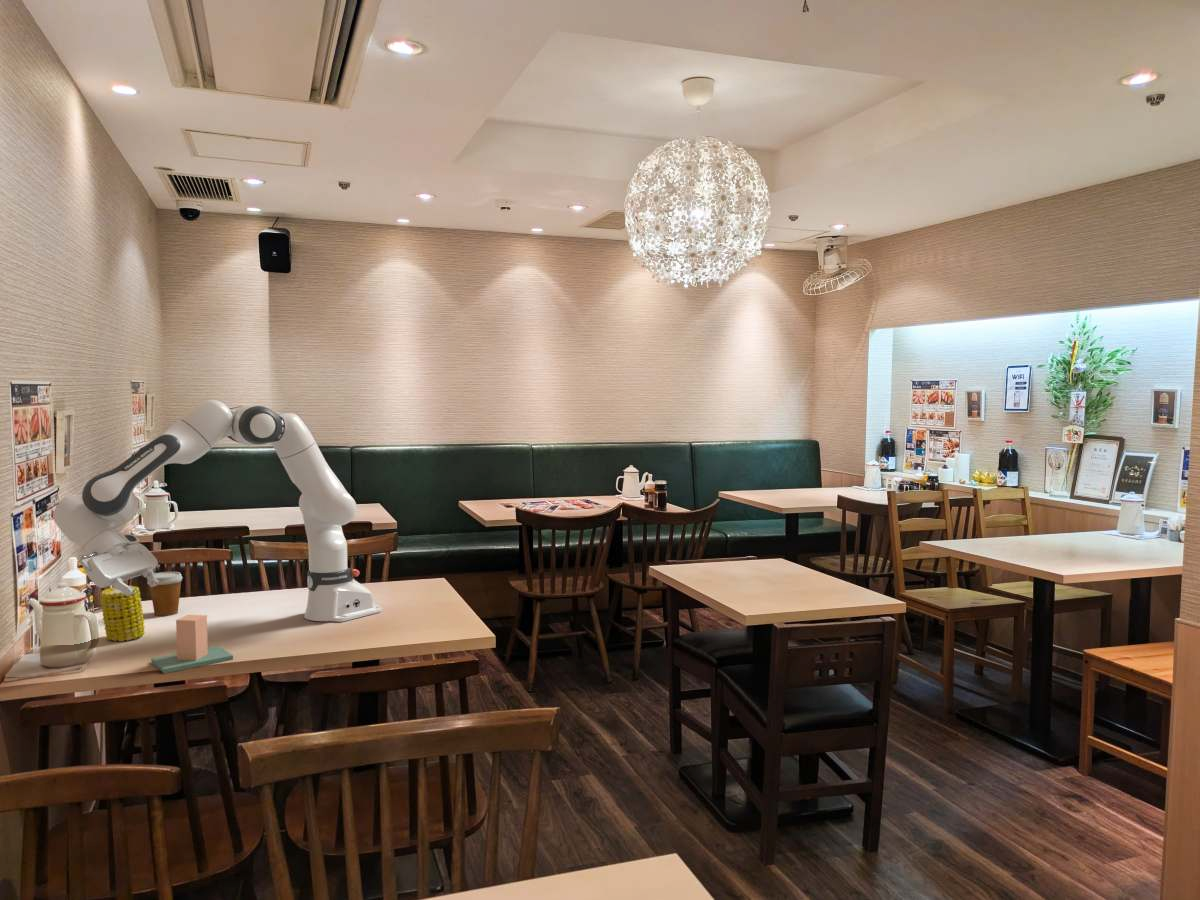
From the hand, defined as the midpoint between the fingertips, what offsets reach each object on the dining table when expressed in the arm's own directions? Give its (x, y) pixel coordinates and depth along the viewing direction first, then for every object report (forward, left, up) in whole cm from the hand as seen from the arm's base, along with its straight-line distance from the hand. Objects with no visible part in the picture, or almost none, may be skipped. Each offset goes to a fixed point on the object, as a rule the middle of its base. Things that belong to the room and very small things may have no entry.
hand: (143, 589), depth 209 cm
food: (0, -24, -18) cm, 30 cm away
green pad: (-8, +9, -18) cm, 22 cm away
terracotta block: (-8, +9, -17) cm, 21 cm away
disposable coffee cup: (-16, -44, -18) cm, 50 cm away
